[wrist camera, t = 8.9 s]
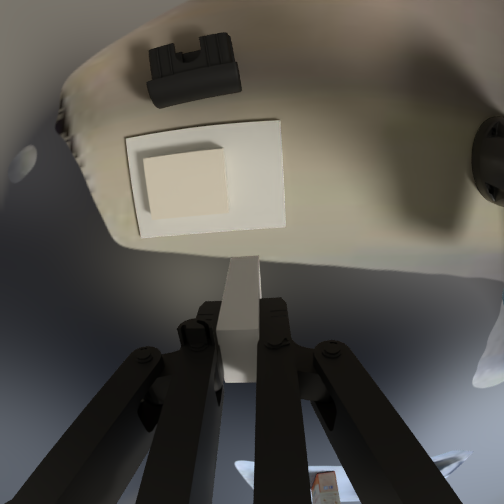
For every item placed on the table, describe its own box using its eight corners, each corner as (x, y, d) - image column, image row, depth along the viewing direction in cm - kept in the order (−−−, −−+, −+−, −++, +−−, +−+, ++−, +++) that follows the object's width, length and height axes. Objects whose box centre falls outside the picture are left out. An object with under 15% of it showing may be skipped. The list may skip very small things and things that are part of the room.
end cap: (165, 110, 35) (149, 107, 29) (158, 61, 33) (141, 50, 26) (242, 95, 35) (241, 88, 28) (234, 45, 32) (231, 29, 26)
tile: (222, 148, 35) (143, 158, 35) (228, 213, 38) (151, 220, 38) (224, 147, 37) (148, 157, 37) (229, 209, 40) (156, 215, 40)
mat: (279, 120, 36) (280, 120, 35) (285, 225, 41) (285, 227, 41) (127, 138, 36) (125, 138, 36) (142, 236, 42) (141, 238, 41)
